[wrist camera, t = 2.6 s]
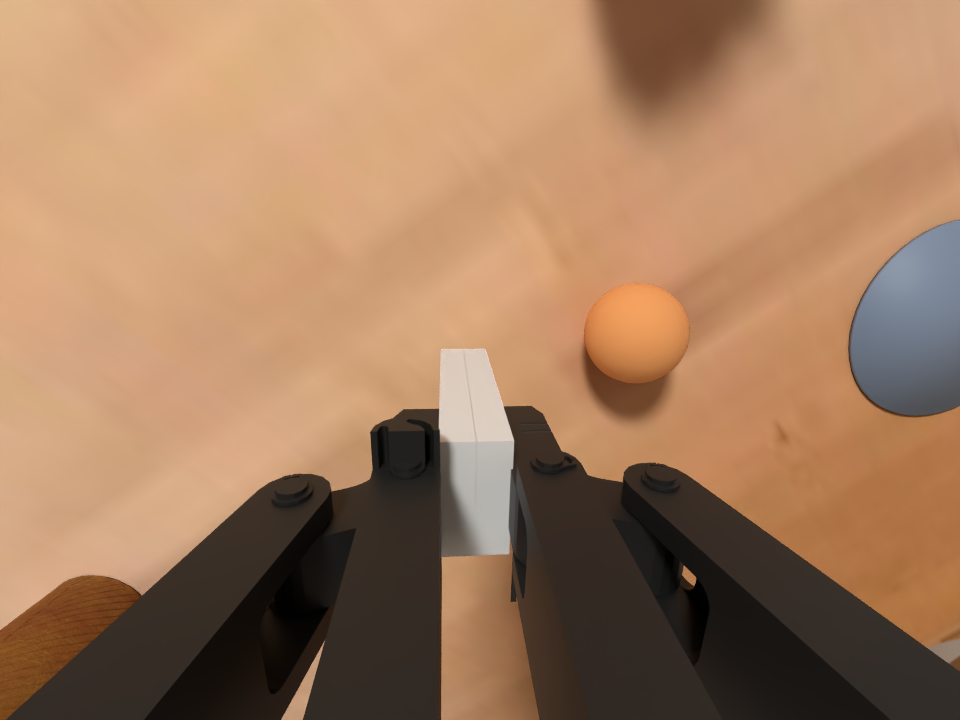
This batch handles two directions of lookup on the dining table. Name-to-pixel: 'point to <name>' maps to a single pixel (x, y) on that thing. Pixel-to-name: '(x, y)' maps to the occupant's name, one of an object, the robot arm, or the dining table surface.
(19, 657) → the disposable coffee cup
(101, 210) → the dining table surface
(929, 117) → the dining table surface
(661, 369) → the ball
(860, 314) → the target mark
